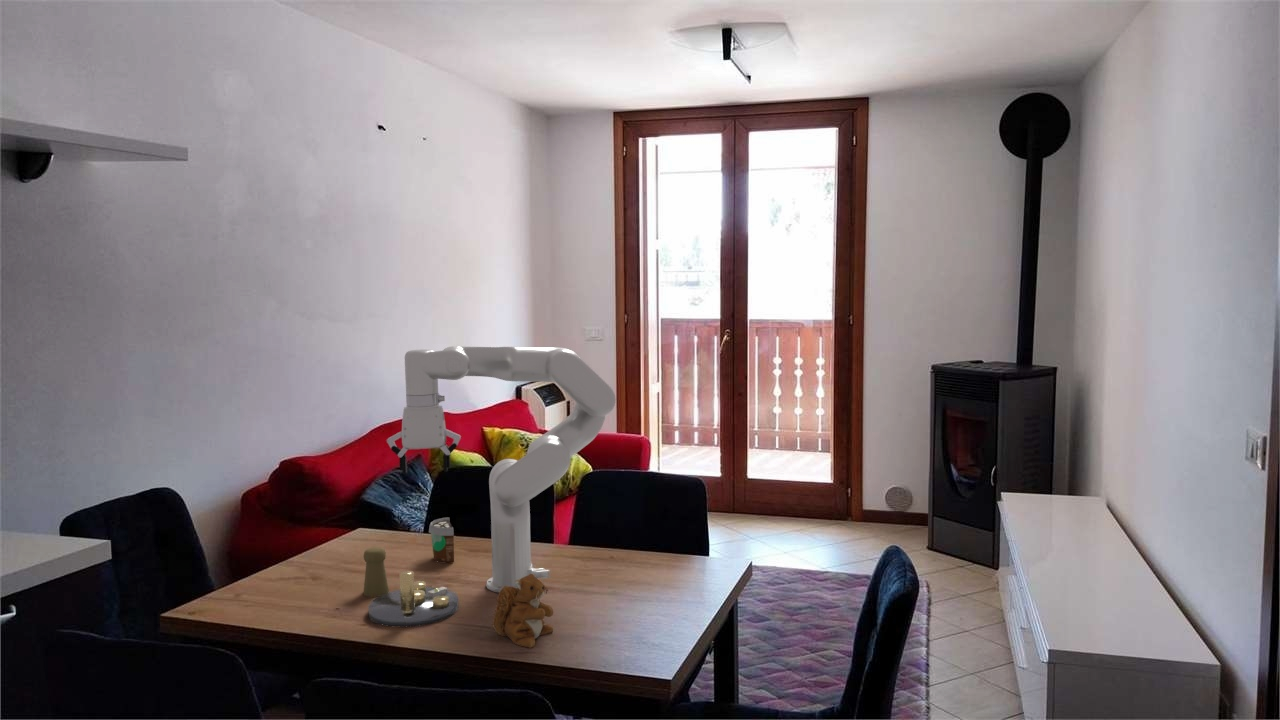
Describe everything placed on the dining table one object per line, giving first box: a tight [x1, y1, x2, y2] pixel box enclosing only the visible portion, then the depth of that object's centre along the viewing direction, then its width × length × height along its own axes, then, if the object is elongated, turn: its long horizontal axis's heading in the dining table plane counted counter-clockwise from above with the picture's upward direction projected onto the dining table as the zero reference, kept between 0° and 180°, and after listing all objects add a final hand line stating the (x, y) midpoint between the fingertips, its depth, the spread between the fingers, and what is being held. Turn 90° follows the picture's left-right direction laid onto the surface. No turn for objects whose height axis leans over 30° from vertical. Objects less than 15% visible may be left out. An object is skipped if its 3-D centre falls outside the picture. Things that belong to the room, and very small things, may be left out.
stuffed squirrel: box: [491, 574, 554, 649], centre depth 188 cm, size 10×14×13 cm
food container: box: [428, 517, 455, 564], centre depth 242 cm, size 12×6×10 cm, turn 17°
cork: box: [363, 546, 390, 598], centre depth 216 cm, size 6×6×11 cm
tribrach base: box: [368, 580, 459, 628], centre depth 204 cm, size 20×20×4 cm
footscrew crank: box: [399, 570, 425, 613], centre depth 200 cm, size 12×5×9 cm, turn 5°
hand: (425, 471), depth 213 cm, fingers open, 9 cm apart
